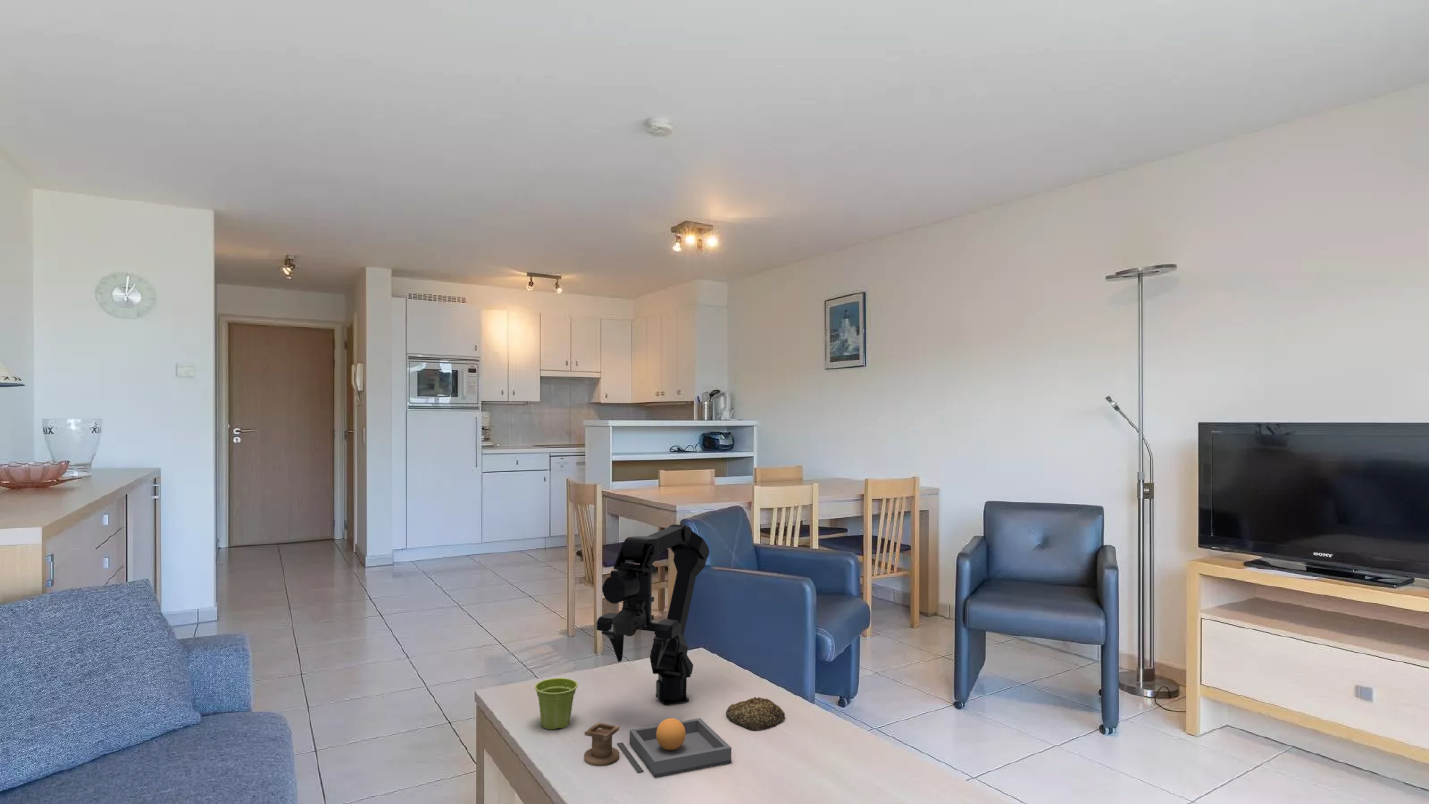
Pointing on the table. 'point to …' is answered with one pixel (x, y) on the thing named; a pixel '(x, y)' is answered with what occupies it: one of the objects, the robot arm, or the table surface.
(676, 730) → the ball
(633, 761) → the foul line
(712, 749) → the grey square tray
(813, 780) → the table surface
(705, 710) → the table surface
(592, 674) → the table surface
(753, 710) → the brown speckled mound
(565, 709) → the plant pot
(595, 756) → the tee
